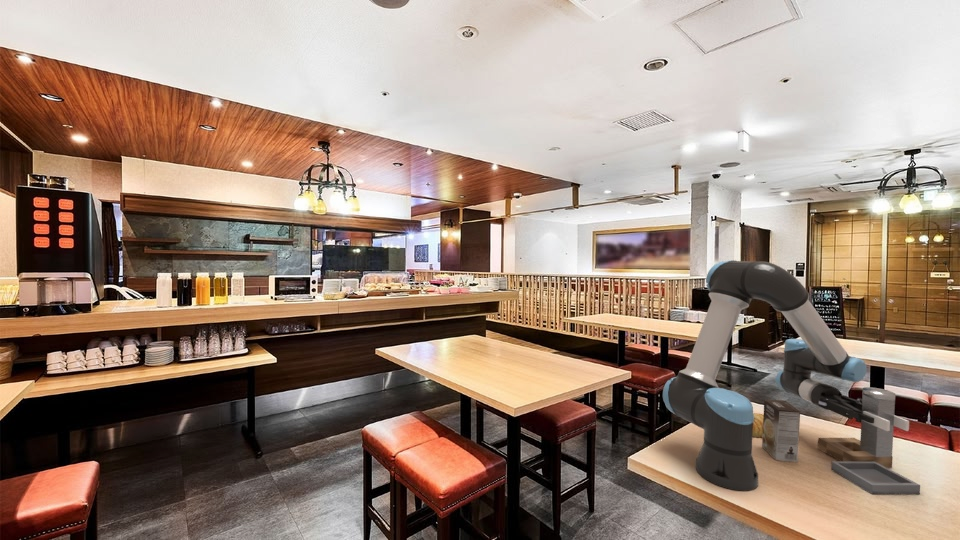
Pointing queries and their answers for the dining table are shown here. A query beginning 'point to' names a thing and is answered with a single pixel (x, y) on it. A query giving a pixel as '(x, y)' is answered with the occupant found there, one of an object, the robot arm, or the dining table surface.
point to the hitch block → (850, 451)
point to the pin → (872, 436)
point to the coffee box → (781, 430)
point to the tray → (875, 477)
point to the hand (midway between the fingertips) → (897, 425)
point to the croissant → (758, 425)
